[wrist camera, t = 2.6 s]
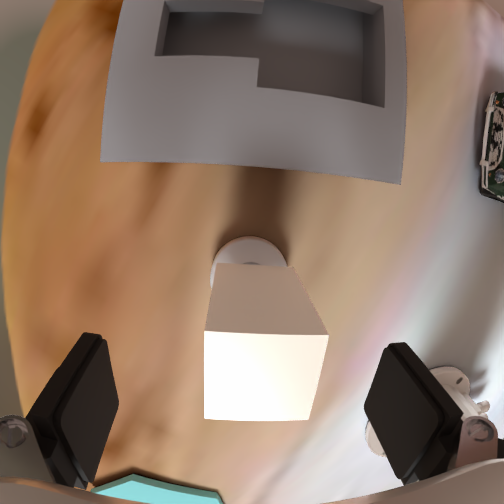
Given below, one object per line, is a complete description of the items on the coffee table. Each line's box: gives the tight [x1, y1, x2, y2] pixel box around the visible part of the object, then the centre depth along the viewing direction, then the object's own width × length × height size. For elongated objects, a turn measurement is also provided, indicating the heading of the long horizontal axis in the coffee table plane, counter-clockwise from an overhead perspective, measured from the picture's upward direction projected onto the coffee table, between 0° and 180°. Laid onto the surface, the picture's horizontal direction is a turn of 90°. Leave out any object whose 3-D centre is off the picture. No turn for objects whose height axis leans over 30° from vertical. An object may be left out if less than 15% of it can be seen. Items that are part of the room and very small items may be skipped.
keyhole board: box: [100, 0, 407, 185], centre depth 15 cm, size 15×14×6 cm
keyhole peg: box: [204, 236, 329, 421], centre depth 16 cm, size 5×5×12 cm
